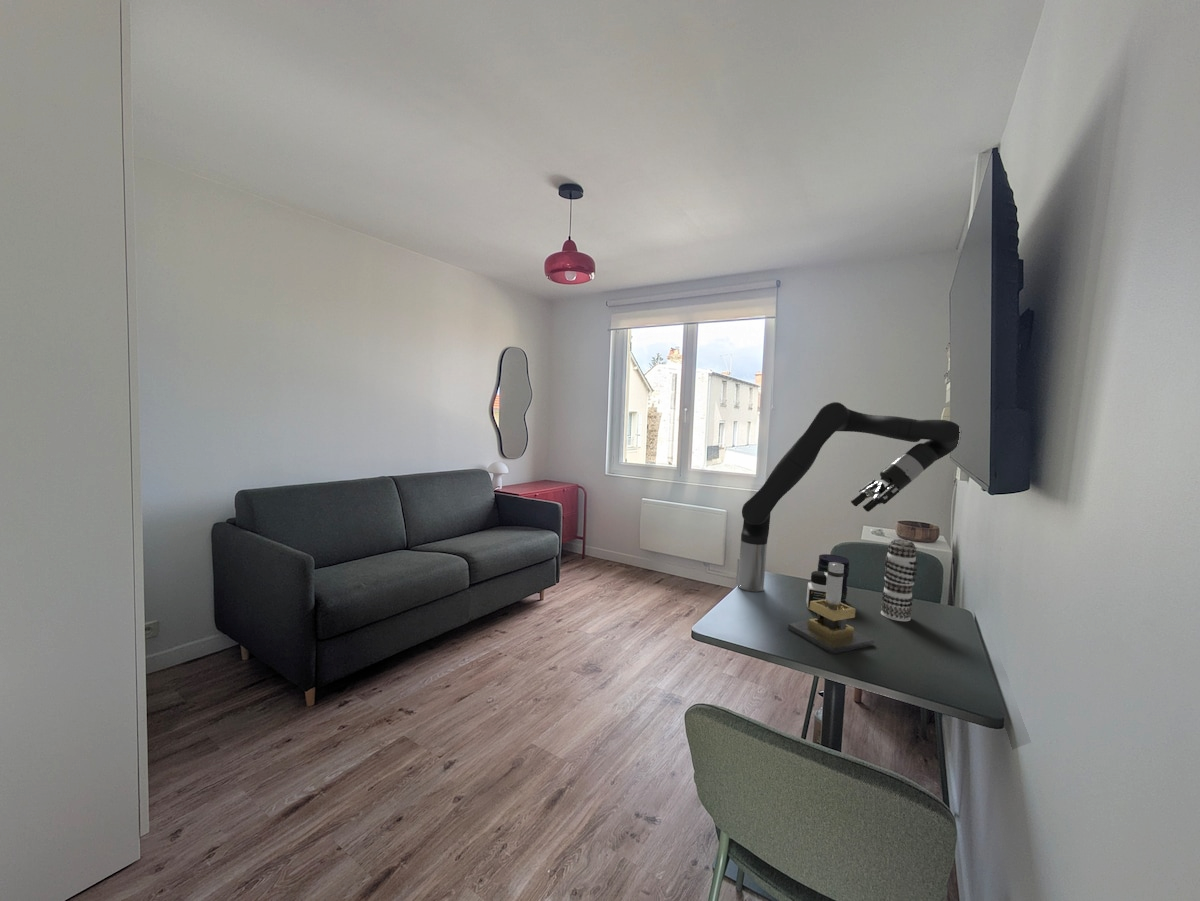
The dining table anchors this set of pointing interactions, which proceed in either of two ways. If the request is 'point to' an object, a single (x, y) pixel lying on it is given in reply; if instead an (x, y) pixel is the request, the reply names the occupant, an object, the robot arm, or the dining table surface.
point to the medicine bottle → (816, 587)
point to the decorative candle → (899, 580)
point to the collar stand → (828, 637)
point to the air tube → (833, 591)
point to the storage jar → (828, 558)
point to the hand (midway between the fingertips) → (858, 506)
